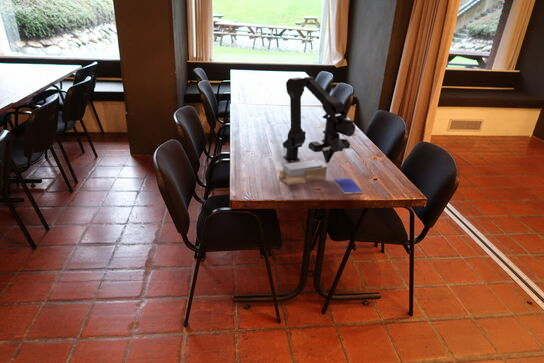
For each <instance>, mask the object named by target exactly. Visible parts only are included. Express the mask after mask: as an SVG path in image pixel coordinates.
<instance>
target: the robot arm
mask: <svg viewBox="0 0 544 363" xmlns="http://www.w3.org/2000/svg"><path fill="white" fill-rule="evenodd" d="M285 87H286V93H287V95H288V96H289V99H290V100H289V101H290V102H289V103H290V104H289V105H290V129H289V130H288V132H287V139H286V140H284V141H283V143H282V147H283V148H284V149H285V150H286V151H285V152H286V153H285V155H283V158H284V159H285V160H286V161H287V162H294V161H300V160H301V158H299V157H298V154H299V148H302V147H303V145H304V143H305V141H306V140H307V138H306V131H305V130H303V129H302V96H303V93H304V92H305V88H306V89H307V90H308V91H309V92H310V93H311V94H312V95H313V96H314V97H315V98H316V99H317V100H318V101H319V102H320V103H321V105H322V109H323V111H324V112H325V114H324V115H322V118H323V119H325V120H326V121H325V127H324V128H325V129H324V130H322V134H323V135H324V136H323V139H321V142H322V143H320V142H318V141H310V142H309V143H308V146H307V148H308V149H310V150H311V151H312V152H314V153H319V152H320V153H321V152H322V155H323V157H324V162H325V163H326V164H329V163H330V161H331V159H332V157H333V155H334V154H335V153H338V152H343V151H344V149H345V150H347V149H350V148H351V142H350V141H349V140H348V139H347V138H340V136H341V135H343V136H345V137H349V138H350V137H352V136H353V135H354V133H355V131H356V125H355V123H354V120H353V119H349V118H348V115H347V112H346V109H345V107H344V103H343V102H342V101H341V100H340V99H338V98H336V97H334V96H332V95H331V94H329V93H328V92H327V91H326V89H324V88H323V87H322V86H321V85H320V84H319V83H318V82H317V81H316V80H315V77H313V76H306V77H303V78H302V77H293V78H292V77H291V78H288V79H287V81H286V83H285Z"/></svg>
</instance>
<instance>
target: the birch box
mask: <svg viewBox="0 0 544 363" xmlns="http://www.w3.org/2000/svg"><path fill="white" fill-rule="evenodd" d="M315 161H317V162H318V160H317V159H315ZM327 169H328V168H327V166H324V167H323V166H322V168H315V169H308V170H306V174H302V175H295V176H289V175H288V174H287V173H285V172H284V171H283V169H280V170H279V175H278V178H280V179H281V180H282V181H283V182H284V183H285V184H286V185H287V186H292V184H293V185H298V183H299V184H306V183H311V182H317V181H318V182H319V181H324V180H326V179H327V172H328V171H327Z"/></svg>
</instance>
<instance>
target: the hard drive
mask: <svg viewBox="0 0 544 363" xmlns="http://www.w3.org/2000/svg"><path fill="white" fill-rule="evenodd" d="M333 182H334V183H335V184H336V186H337V187H338V188H339V189H340V191H341V192H342V193H343V194H344V195H348V194H349V195H350V194H363V192H364V191H363V190H362V189H361V187H359V186H358V184H357V183H356V182H355V181H354V180H353V179H352V178H350V177H349V178H347V177H346V178H334V179H333Z"/></svg>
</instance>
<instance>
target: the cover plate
mask: <svg viewBox="0 0 544 363" xmlns="http://www.w3.org/2000/svg"><path fill="white" fill-rule="evenodd" d="M315 160H316V159H315ZM315 160H314V159H313V160H306V161H298V162H292V163H290V162H289V163H283V168H282V170H283V171H284V172H285V173H287V174H288V175H289V176H295V175H302V174H306V170H308V169H315V168H322V167H323V165H322V164H321V163H320V162H319V161H318V160H317V161H315Z"/></svg>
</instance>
